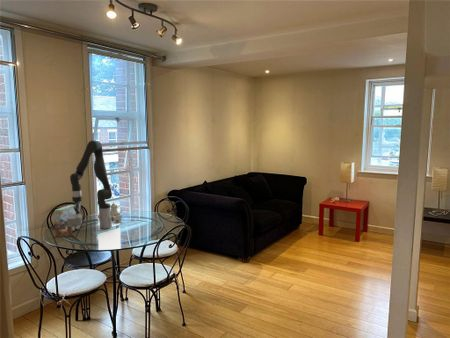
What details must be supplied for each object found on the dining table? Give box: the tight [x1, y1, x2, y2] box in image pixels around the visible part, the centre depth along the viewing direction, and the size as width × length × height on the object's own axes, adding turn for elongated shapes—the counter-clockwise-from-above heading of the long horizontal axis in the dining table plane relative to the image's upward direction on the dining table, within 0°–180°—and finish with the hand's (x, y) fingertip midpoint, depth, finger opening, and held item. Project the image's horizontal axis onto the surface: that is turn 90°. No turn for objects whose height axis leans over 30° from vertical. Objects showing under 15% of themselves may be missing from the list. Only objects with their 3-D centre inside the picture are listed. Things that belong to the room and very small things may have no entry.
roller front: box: [64, 225, 77, 232], centre depth 270 cm, size 7×4×4 cm
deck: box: [54, 225, 74, 238], centre depth 269 cm, size 12×28×9 cm, turn 6°
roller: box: [60, 228, 68, 234], centre depth 261 cm, size 8×4×4 cm
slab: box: [66, 213, 83, 226], centre depth 278 cm, size 10×16×6 cm, turn 21°
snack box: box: [54, 204, 76, 227], centre depth 294 cm, size 21×6×15 cm, turn 168°
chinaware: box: [96, 202, 124, 223], centre depth 306 cm, size 28×17×17 cm, turn 77°
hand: (77, 215), depth 289 cm, fingers closed
